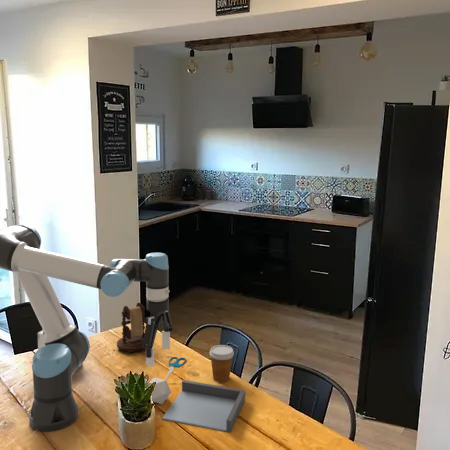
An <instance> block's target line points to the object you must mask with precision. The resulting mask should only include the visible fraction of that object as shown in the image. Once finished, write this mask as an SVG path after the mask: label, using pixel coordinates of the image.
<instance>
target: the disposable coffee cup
mask: <svg viewBox="0 0 450 450" xmlns="http://www.w3.org/2000/svg"><path fill="white" fill-rule="evenodd" d="M208 353H209V356H210V362H211V371H212V378H213V381H214V382H217V383H227V382H228V381H230V378H231V369H232V365H233V357H234V355H235V351H234V348H232V346H230V345H227V344H218V345H214V346H211V348H210V351H209V352H208Z"/></svg>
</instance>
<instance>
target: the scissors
mask: <svg viewBox="0 0 450 450" xmlns="http://www.w3.org/2000/svg"><path fill="white" fill-rule="evenodd" d="M173 359H176V360H175V361H174V362H171V361H172V360H173ZM181 360H184V361H183V362H182V363H179V361H181ZM186 362H187V358H186V357H177V356H172V357H170V358H169V361H168V367H169V370H168V372H167V374H166V376H165V378H164V380H166V381H167V378H168V377H169V376H170V375H171V374H172V373H173V371H174V368H180V367H182V366H184V365H185V364H186Z"/></svg>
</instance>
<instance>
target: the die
mask: <svg viewBox="0 0 450 450" xmlns="http://www.w3.org/2000/svg"><path fill="white" fill-rule="evenodd" d="M153 382H156V386H155V389H154V391H153V393H152V401H153V402H152V403H156V404H159V405H163V404H164V402H165V401H166V399H168V397H169V396H170V395H171V393H172V391H171V389H170V386H169V384H168V381H167V379H166V380H165V379H163V378H159V377H152V379H151V380H150V382H148V384H149V383H153Z"/></svg>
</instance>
